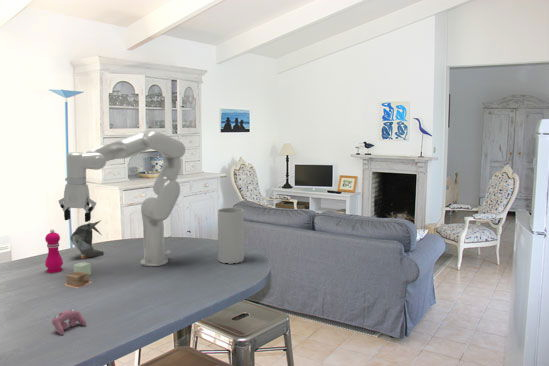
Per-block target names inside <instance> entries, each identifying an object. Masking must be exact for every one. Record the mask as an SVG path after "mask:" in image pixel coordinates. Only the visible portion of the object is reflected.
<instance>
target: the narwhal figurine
mask: <svg viewBox="0 0 549 366" xmlns="http://www.w3.org/2000/svg"><path fill="white" fill-rule="evenodd" d="M101 221H102V220H98V221H95V222H87V223H85V224H82V225H80V226H78V227H76V229H75V231H73V233H72V234H71V235H70V239H69V240H70V241H71V244H72V245H73V246H74V247H75V248H76V249H77V251H79V253H80V259H81V260H83V259H85V258H87V259H88V258H93V257H100V256H104V251H103V250H98V249H94V247H93V244H92V243H93V232H94V231H95V232H96V233H98V234H99V235H100V236H103V234H102V233H101V232H100V231H99V230H98V229H97V228H96V226H97V225H98V224H99V223H100V222H101Z"/></svg>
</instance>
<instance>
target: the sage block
mask: <svg viewBox="0 0 549 366" xmlns="http://www.w3.org/2000/svg"><path fill="white" fill-rule="evenodd" d="M91 265H92V264H91V263H89V262H85V261H81V262H77V263H75V264H73V267H72V268H73V273H74V272H77V271H80V272H85V273H89V276H90V275H92V268H91V267H92V266H91Z"/></svg>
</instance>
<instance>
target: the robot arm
mask: <svg viewBox="0 0 549 366" xmlns="http://www.w3.org/2000/svg"><path fill="white" fill-rule="evenodd" d="M149 150H154V151H155V152H158V153H160V155H161V157H162V161H163V162H162V166H161V168H160V171H159V173H158V175H157V177H156V180H155V181H154V183H153V186H152V190H153V191H152V192H153V193H154V194H155V195H157V196H156V197H155V196H154V197H153V196H152V197H147V198H145V199H144V200H143V202H142V203H141V205H140V213H141V217H142V218H141V219H142V228H143V229H142V232H143V234H142V235H143V258H142V259H141V260H140V264H141V265H142V266H145V267H160V266H163V265H166V264H168V263H169V259H168V258H167V256H169V255H171V251H170V250H167V251H165V233H164V232H165V229H164V228H165V226H164V224H165V223H164V221H166V220H167V219H168V218H169V217H170V215H171V214H172V212H173V210H174V207H175V205H176V204H177V201H178V199H179V196H180V194H181V185H180V183H179V181H178V180H177V179H178V176H179V174H180V172H181V166H182V162H181V161H182V160H181V158H183V156H185V154H186V146H185V144H184V143H183V142H181V141H180V140H178V139H176V138H173V137H171V136H170V135H169V136H168V135H167V134H164V133H162V132H160V131H157V130H143V131H141V132H139V133H136V134H133V135H130V136H128V137H125V138H121V139H120V140H116V141H113V142H110V143H107V144H103V145H101V146H98V147H95V148H92V149H90V150H88V151H86V152H85V153H84V152H78V151H77V152H74V151H73V152H69V153H68V154H67V155H66V169H67V170H66V173H67V175H66V176H67V177H65V178H64V180H65V182H67V183H65V186H64V191H63V192H64V193H63V197H62V198H61V199H59V200H58V204H59V206H60V208H61V210H62V211H63V216H64V217H63V218H64V220H65V221H68V220H70V219H71V210H70V209H83V210H84V211H85V212H84V222H85V223H89V222H90V221H91V218H92V213H91V212H92V211H94V209H95V207H96V205H97V202H96V201H95V200H93V199H91V198H90V189H89V184H87V170H95V171H96V170H97V171H98V170H102V169H103V168H104V167H105V166H106V164H107V162H110V161H113V160H118V159H119V160H121V159H128V158H131V157H134V156H135V155H138V154H140V153H143V152H145V151H149Z"/></svg>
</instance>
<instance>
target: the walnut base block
mask: <svg viewBox="0 0 549 366" xmlns="http://www.w3.org/2000/svg"><path fill="white" fill-rule="evenodd" d="M89 276H90V275H89V273H85V272H80V271H77V272H74V271H73V272H72V273H69V274H66V284H67V285H71V286H75V287H78V286H81V285H84V284H86V283H89V282H90V277H89ZM84 286H85V285H84Z"/></svg>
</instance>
